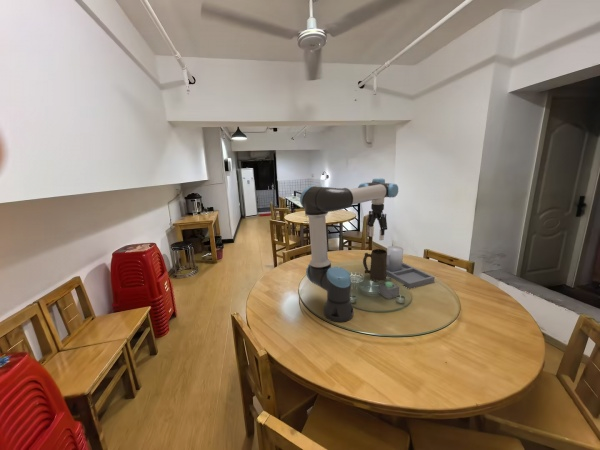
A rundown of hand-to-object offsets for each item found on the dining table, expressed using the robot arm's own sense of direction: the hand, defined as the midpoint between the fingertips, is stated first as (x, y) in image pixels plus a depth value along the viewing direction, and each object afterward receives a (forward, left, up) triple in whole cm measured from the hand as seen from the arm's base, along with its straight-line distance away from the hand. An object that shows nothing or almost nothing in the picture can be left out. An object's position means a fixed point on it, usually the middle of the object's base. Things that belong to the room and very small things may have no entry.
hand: (376, 238), depth 151 cm
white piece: (+4, -19, -27) cm, 33 cm away
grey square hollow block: (-20, +6, -29) cm, 35 cm away
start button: (-20, +6, -27) cm, 34 cm away
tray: (-4, -20, -29) cm, 35 cm away
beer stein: (0, 0, -29) cm, 29 cm away
